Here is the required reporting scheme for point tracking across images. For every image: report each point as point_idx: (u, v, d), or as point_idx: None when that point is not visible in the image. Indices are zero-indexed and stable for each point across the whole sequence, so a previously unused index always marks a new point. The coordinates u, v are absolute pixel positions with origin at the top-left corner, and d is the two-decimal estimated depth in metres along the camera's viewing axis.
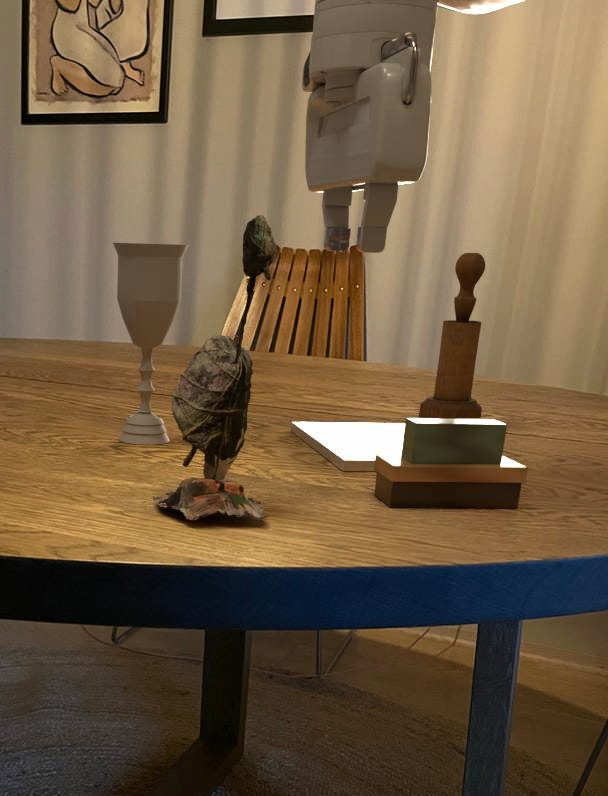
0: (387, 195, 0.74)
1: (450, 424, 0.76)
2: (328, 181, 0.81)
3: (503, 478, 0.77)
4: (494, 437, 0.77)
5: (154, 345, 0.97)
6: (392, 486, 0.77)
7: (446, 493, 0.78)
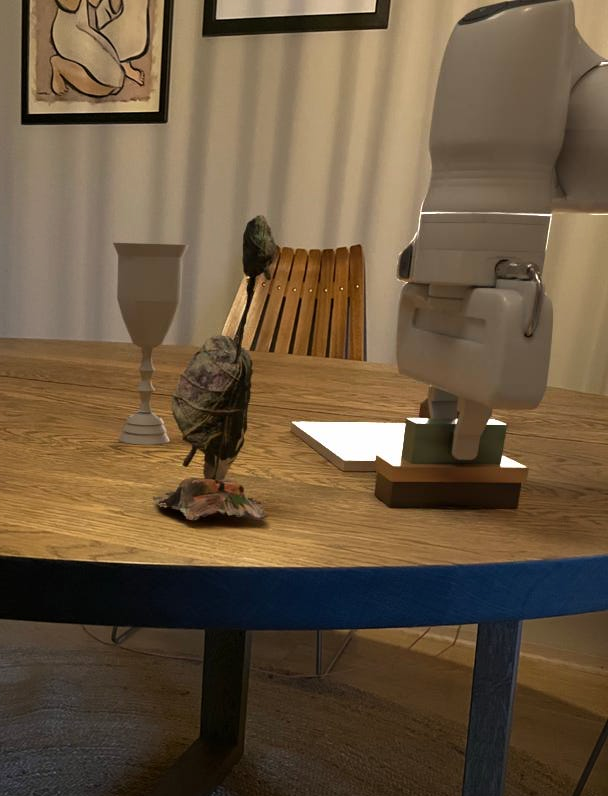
0: (482, 408, 0.74)
1: (450, 424, 0.76)
2: (427, 379, 0.79)
3: (503, 478, 0.77)
4: (494, 437, 0.77)
5: (154, 345, 0.97)
6: (392, 486, 0.77)
7: (446, 493, 0.78)
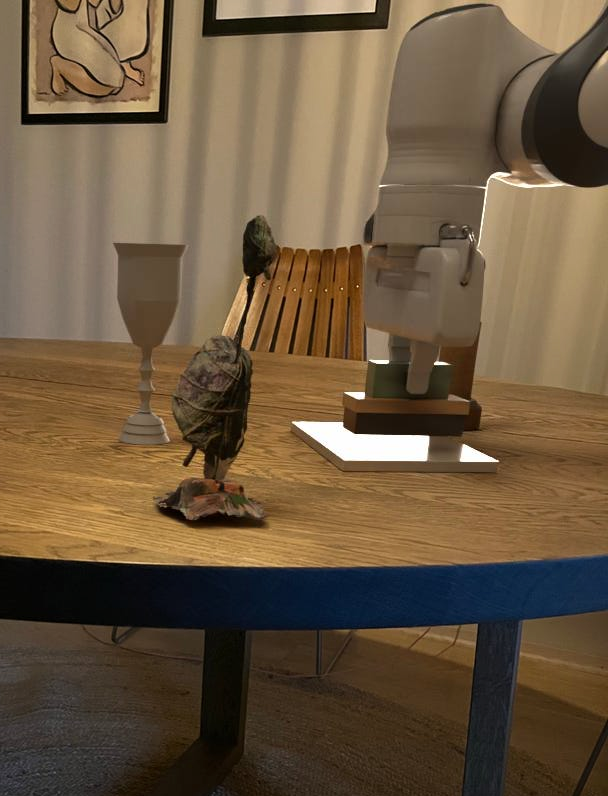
0: (430, 349, 0.88)
1: (405, 364, 0.91)
2: (387, 328, 0.93)
3: (449, 410, 0.92)
4: (442, 376, 0.92)
5: (154, 345, 0.97)
6: (356, 416, 0.92)
7: (401, 423, 0.92)
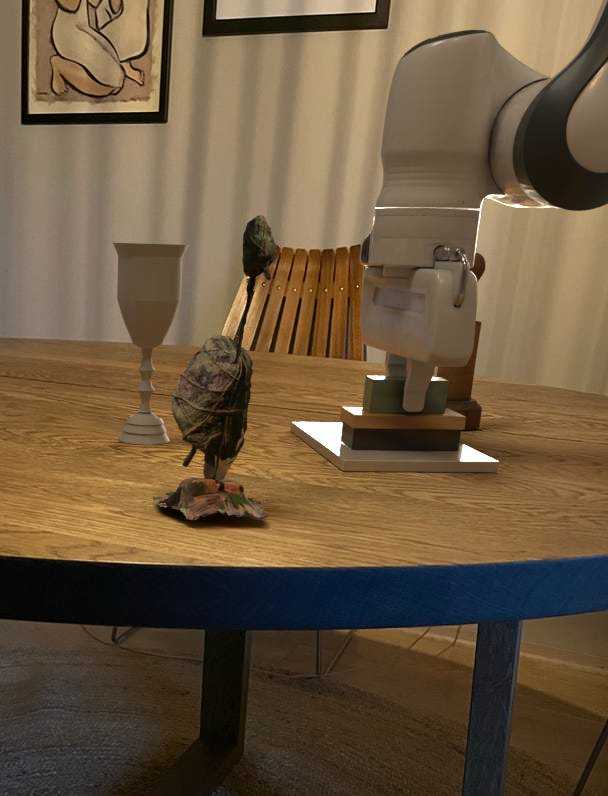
0: (426, 368, 0.90)
1: (401, 380, 0.92)
2: (383, 346, 0.95)
3: (445, 425, 0.93)
4: (438, 391, 0.93)
5: (154, 345, 0.97)
6: (353, 431, 0.93)
7: (398, 438, 0.94)
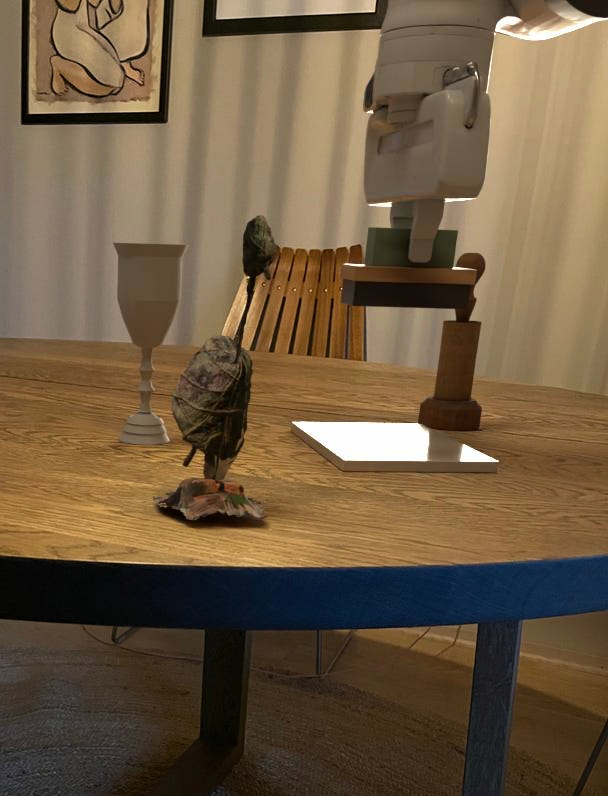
0: (434, 211, 0.83)
1: (407, 229, 0.85)
2: (388, 196, 0.88)
3: (454, 279, 0.86)
4: (447, 242, 0.86)
5: (154, 345, 0.97)
6: (354, 285, 0.86)
7: (403, 293, 0.87)
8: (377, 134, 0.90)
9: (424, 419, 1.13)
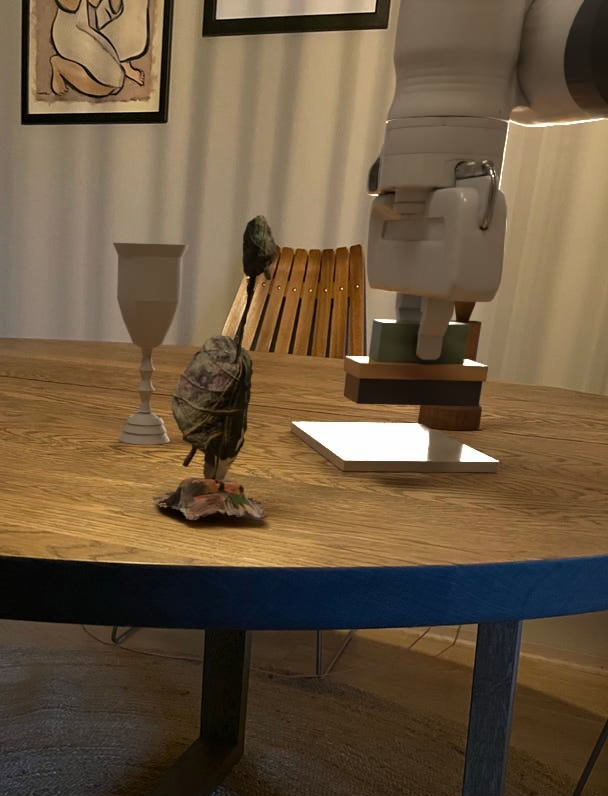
0: (444, 308, 0.78)
1: (414, 323, 0.80)
2: (394, 286, 0.83)
3: (465, 376, 0.81)
4: (456, 337, 0.81)
5: (154, 345, 0.97)
6: (359, 383, 0.81)
7: (410, 391, 0.82)
8: (381, 218, 0.85)
9: (424, 419, 1.13)
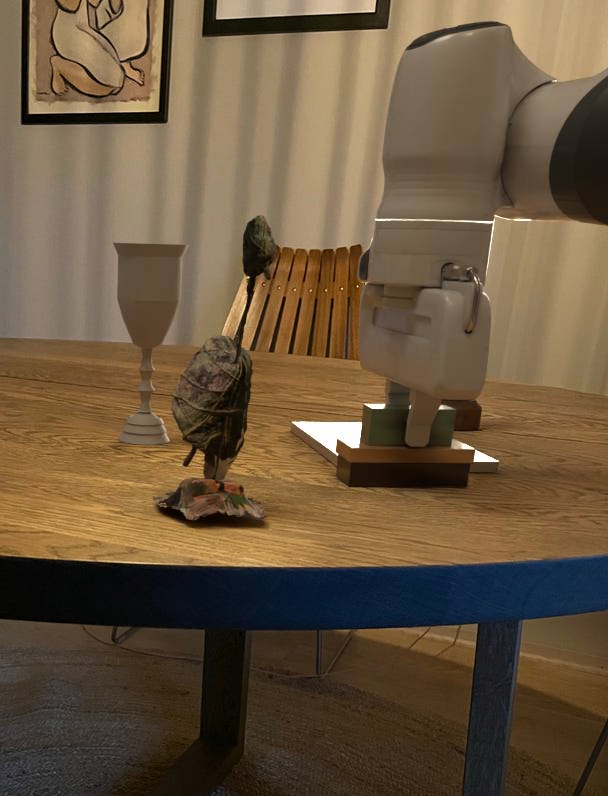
0: (432, 399, 0.80)
1: (403, 409, 0.83)
2: (383, 373, 0.85)
3: (453, 459, 0.84)
4: (444, 421, 0.84)
5: (154, 345, 0.97)
6: (350, 466, 0.83)
7: (400, 473, 0.84)
8: (372, 304, 0.88)
9: None
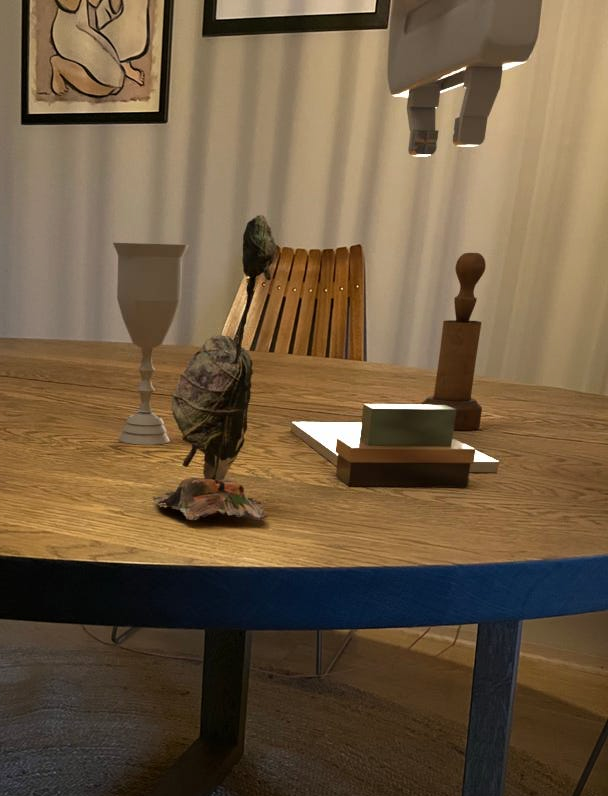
0: (490, 80, 0.70)
1: (403, 409, 0.83)
2: (418, 77, 0.77)
3: (453, 459, 0.84)
4: (444, 421, 0.84)
5: (154, 345, 0.97)
6: (350, 466, 0.83)
7: (400, 473, 0.84)
8: (404, 10, 0.80)
9: None
